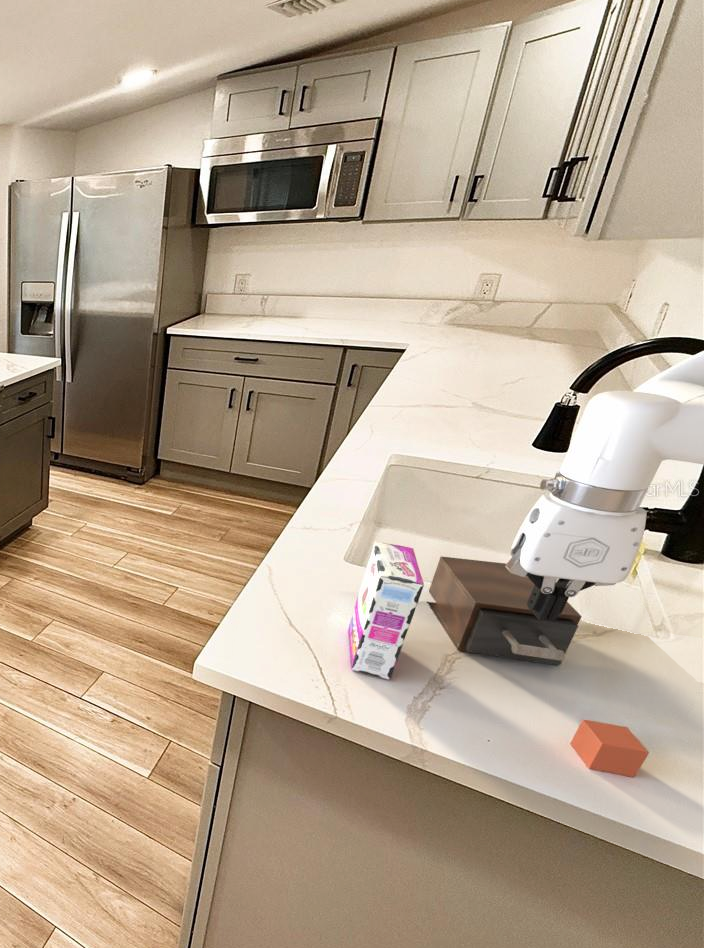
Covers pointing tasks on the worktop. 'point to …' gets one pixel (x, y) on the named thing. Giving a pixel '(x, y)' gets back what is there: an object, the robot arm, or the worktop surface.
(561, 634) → the drawer
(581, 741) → the block
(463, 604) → the cabinet
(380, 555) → the candy bar box
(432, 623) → the worktop surface
